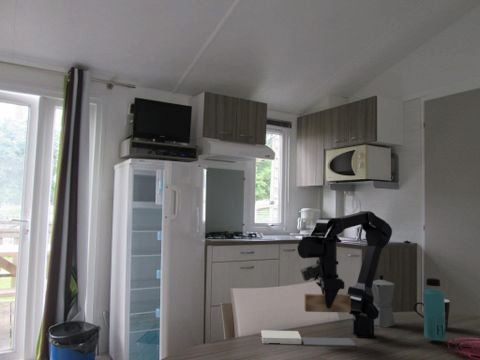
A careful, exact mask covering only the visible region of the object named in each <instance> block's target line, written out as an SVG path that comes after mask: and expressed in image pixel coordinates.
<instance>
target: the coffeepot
mask: <svg viewBox="0 0 480 360" xmlns="http://www.w3.org/2000/svg"><path fill="white" fill-rule="evenodd" d="M378 277H379V279H376V280H375V279H374V281H373V284H372V292H373V296H374V301H373V304H374V305H375V307H376V308H377V309H378V311H379V315H378V318H376V319H374V324H375V325H378V326H377V327H379V326H393V325H394V326H396V323H395V316H394V313H393V312H394V311H393V307H392V302H393V300H394V299H393V298H394V292H395V291H394V290H395V285H396V284H395V283H393V282H391V281H387V279H385V278H384V275H382V274H379V275H378ZM394 326H393V327H394Z"/></svg>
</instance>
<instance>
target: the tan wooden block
mask: <svg viewBox="0 0 480 360" xmlns="http://www.w3.org/2000/svg"><path fill="white" fill-rule="evenodd" d="M304 312H306V313H310V312H311V313H348V314H349V313H351V296H350V295H347V294H344V293H343V294H340V293H339V294H338V293H337V295H336V297H335V299H334V302H333V304H332V306H331V308H327V306H326V300H325V294H322V293H304Z"/></svg>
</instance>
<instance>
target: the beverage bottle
mask: <svg viewBox="0 0 480 360" xmlns="http://www.w3.org/2000/svg"><path fill="white" fill-rule="evenodd" d="M440 281H441V280H440V279H439V278H434V277H433V278H432V277H431V278H430V277H428V278H426V282H425V285H426V286H429V287H428V288H426V289H424V290H423V292H422V297H423V302H422V303H423V304H424V306H423V314H422V316H424V318H423V335H424V338H426V339H429V340H433V341H445V340H446V338H447V335H446V331H447V330H446V325H445V304H444V299H445V292H444V291H443V290H441V289H439V288H430V286H431V287H440V286H441V282H440Z"/></svg>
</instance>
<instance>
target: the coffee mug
mask: <svg viewBox="0 0 480 360" xmlns="http://www.w3.org/2000/svg"><path fill="white" fill-rule="evenodd" d="M444 304H445V325H446V330H445V331H447V330H448V326H449V316H450V305H451V301H450V300H449V299H446V298H444ZM418 305H422V307H424V302H419V301H418V302H415V303H414V305H413V309H414V311H415V313H416V314H417V315H419V316H421V318H423V319H424V316H423V314H422V313H419V312H418V311H417V309H416V307H417V306H418Z"/></svg>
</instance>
